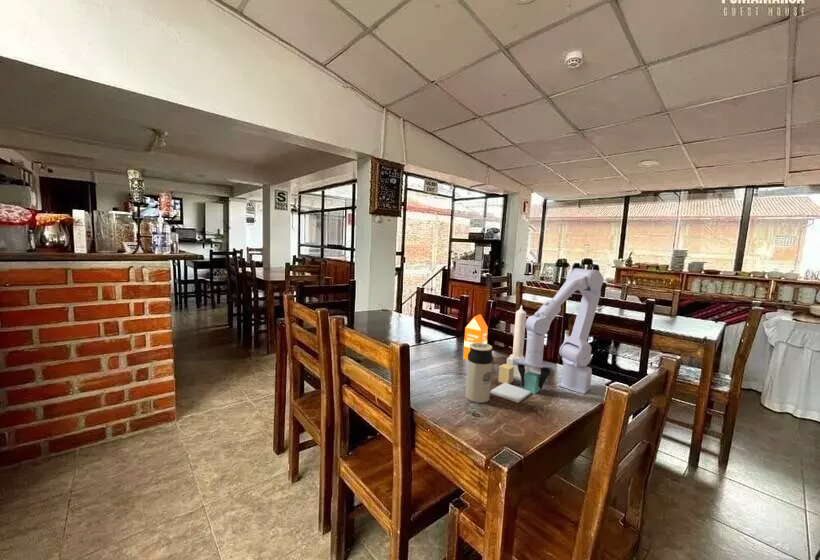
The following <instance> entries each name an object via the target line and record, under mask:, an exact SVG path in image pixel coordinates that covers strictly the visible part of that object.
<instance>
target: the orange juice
mask: <svg viewBox="0 0 820 560" xmlns="http://www.w3.org/2000/svg"><path fill="white" fill-rule="evenodd" d="M488 329H489V326H488V325H487V323H486V321H485V320H484V318H483V316H482V314H481V313H480V314H478V315H477V314H476V315H475V316H473V318H472V319H471V320H470V321H469V323H467V325H466V326H465V327H464V340H463V341H464V342H463V357H462V358H463V360H464V359H466V360H465V361H468V353H469V352H470V347H469V345H470V344H471V343H485V344H488Z"/></svg>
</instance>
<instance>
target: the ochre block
mask: <svg viewBox="0 0 820 560" xmlns="http://www.w3.org/2000/svg"><path fill="white" fill-rule="evenodd" d="M513 375H514V366H510V365H507V363H503V364H501V365H499V367H498V379H497V380H498V381H497V382H499V383H501V384H503V383H504V382H505V383H508V384H510V385H511V384H512V383H514V378H513Z"/></svg>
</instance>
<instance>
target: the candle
mask: <svg viewBox="0 0 820 560" xmlns="http://www.w3.org/2000/svg"><path fill="white" fill-rule="evenodd" d="M514 318H515V319H514V331H513V334H514V335H513V342H512V343H513V344H512V345H513V347H512V354H509V357H514V358H518V359H525V358H526V355H525V356H524V345H525V334H526V333H525V332H526V328H525V324H524V323H525V322H526V320H527V311H525V310H524V309H523V305H522V304H521V305H520V307H519V309H518V310H516V311H515V317H514Z"/></svg>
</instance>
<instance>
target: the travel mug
mask: <svg viewBox="0 0 820 560" xmlns="http://www.w3.org/2000/svg"><path fill="white" fill-rule="evenodd" d="M469 347H470V352H469V353H468V360H467V365H466V379H465V380H466V381H465V382H466V383H465V398H466V399H467V400H469V401H471V402H473V403H477V404H479V403H481V404H482V403H487V402H489V401H490V398H491V397H490V396H491V383H492V370H493V369H492V367H493V355H492V353H491V352H492V350H493V346H492V345H490V344H489V343H487V344H485V343H471V344H470V345H469Z"/></svg>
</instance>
